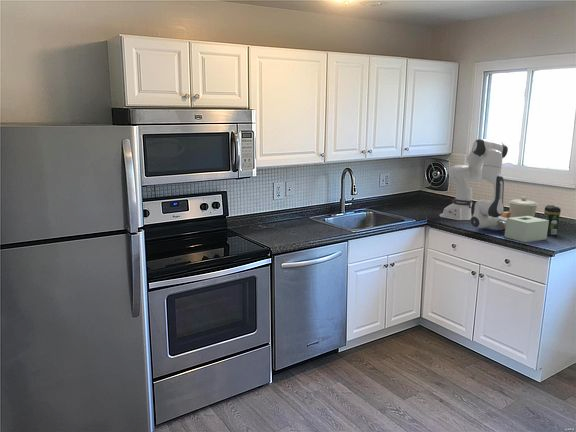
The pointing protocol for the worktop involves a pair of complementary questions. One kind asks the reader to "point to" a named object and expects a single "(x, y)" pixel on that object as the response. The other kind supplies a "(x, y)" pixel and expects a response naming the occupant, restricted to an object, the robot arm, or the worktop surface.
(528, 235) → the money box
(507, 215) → the block
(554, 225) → the coffee jar
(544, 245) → the worktop surface
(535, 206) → the canister
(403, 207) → the worktop surface
